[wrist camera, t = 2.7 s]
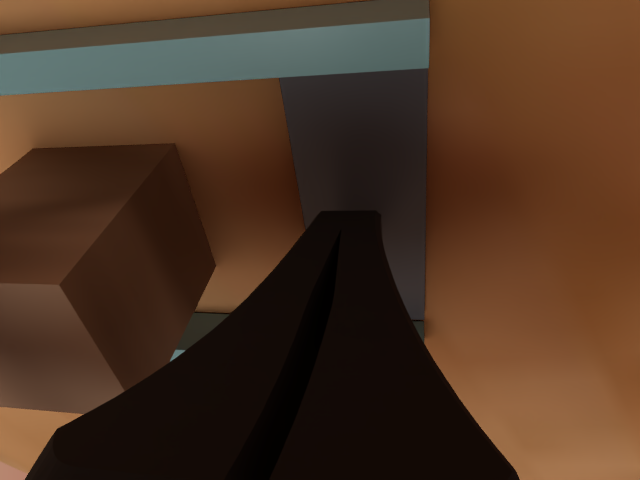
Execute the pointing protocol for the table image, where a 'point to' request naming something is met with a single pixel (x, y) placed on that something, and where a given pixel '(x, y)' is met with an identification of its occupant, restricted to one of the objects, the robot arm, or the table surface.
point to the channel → (284, 102)
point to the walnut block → (94, 272)
